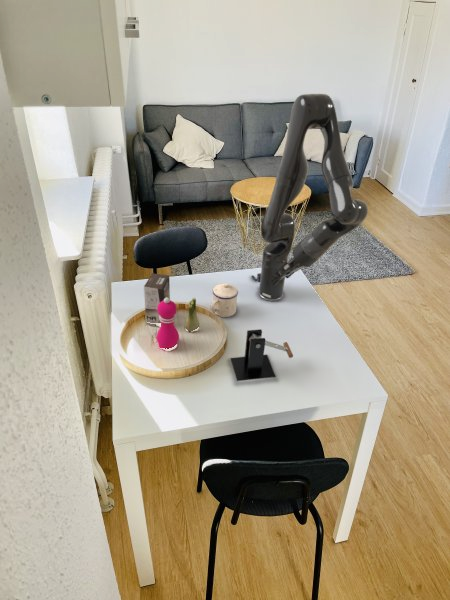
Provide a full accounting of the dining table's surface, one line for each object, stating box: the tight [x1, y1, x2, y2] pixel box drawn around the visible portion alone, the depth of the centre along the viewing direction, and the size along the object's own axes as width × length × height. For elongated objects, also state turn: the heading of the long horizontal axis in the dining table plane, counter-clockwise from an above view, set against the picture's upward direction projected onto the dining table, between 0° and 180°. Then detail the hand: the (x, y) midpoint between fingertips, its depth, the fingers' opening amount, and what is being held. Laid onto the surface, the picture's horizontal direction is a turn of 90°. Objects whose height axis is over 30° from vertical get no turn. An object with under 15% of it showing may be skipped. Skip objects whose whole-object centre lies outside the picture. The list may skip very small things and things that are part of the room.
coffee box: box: [143, 272, 171, 327], centre depth 157 cm, size 9×6×16 cm
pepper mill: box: [156, 297, 180, 349], centre depth 143 cm, size 7×7×20 cm
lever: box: [249, 334, 294, 359], centre depth 137 cm, size 14×6×2 cm, turn 102°
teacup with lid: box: [210, 282, 239, 318], centre depth 163 cm, size 12×9×12 cm
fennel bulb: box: [184, 297, 200, 331], centre depth 153 cm, size 6×5×12 cm
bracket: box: [230, 328, 276, 382], centre depth 138 cm, size 12×10×14 cm
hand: (278, 279), depth 147 cm, fingers open, 8 cm apart
